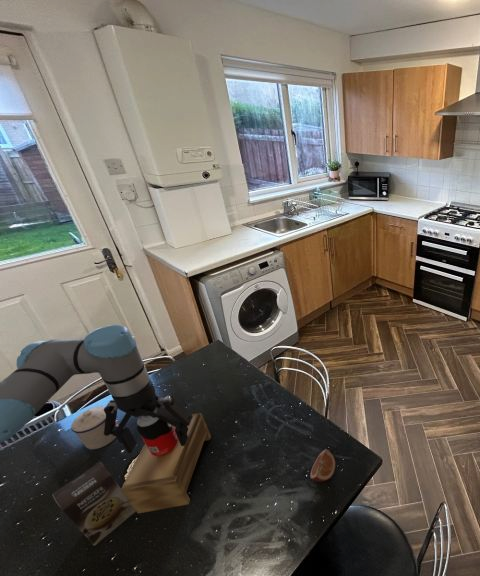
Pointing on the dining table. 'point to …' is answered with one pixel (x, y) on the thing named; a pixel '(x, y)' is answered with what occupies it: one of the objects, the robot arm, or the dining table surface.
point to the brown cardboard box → (94, 503)
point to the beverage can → (157, 435)
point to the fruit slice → (323, 467)
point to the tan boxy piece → (166, 472)
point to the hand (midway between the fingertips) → (159, 444)
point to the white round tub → (92, 428)
